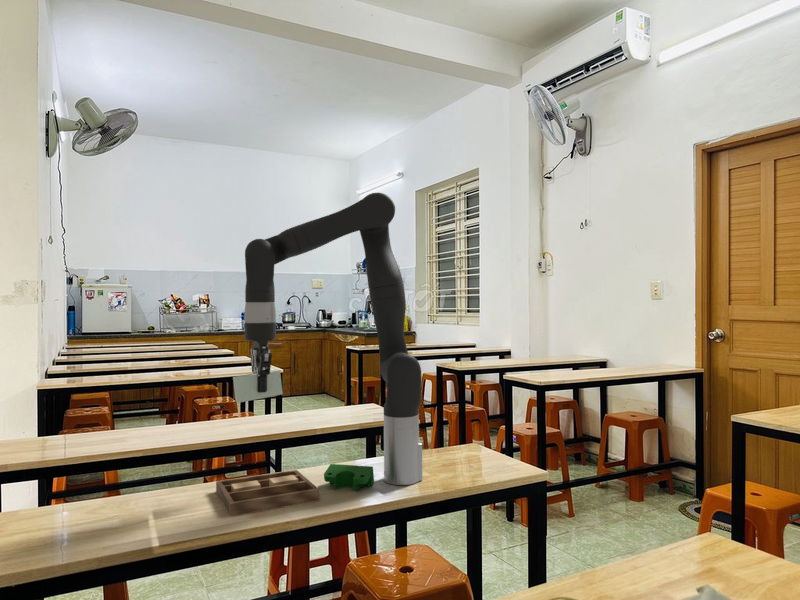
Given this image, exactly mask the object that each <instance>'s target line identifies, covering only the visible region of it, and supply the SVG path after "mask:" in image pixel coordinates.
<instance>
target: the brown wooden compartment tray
mask: <svg viewBox="0 0 800 600" xmlns="http://www.w3.org/2000/svg"><path fill="white" fill-rule="evenodd" d="M289 475H294V476H295V477H296V478H297V479H298V482H295V483H288V484H282V485H275V486H269V478H276V477H283V476H289ZM255 480H257V481H258V482H259V483H260V485H261V488H256V489H249V490H243V491H236V492H231V484H235V483H242V482H249V481H255ZM215 484H216V485H215V491H216V494H217V496H218V497H219V499H220V501H221V503H222V505H223V506H224V508H225V510H226V511H227V514H228V515H229V517H231V516H232V517H233V516H238V515H243V514H250V513H254V512H260V511H267V510H272V509H273V510H274V509H278V508H279V509H280V508H284V507H290V506H295V505H301V504H302V505H303V504H307V503H313V502H319V501H320V489H319V488H318V487H317V486H316V485H315V484H313V483H312V482H311V481H310V480H309V479H308V478H307V477H306V476H305V475H303V474H302V473H301V472H299V470H297V469H293V470H291V469H290V470H286V471H285V470H284V471H279V472H272V473H265V474H258V475H251V476H243V477H237V478H229V479H223V480H222V479H221V480H216V481H215Z"/></svg>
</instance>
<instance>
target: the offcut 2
mask: <svg viewBox="0 0 800 600" xmlns="http://www.w3.org/2000/svg"><path fill="white" fill-rule="evenodd" d="M295 482H298V479H297V478H296V477H295V476H294V475H289V476H283V477H276V478H269V486H275V485H282V484H288V483H295Z"/></svg>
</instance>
